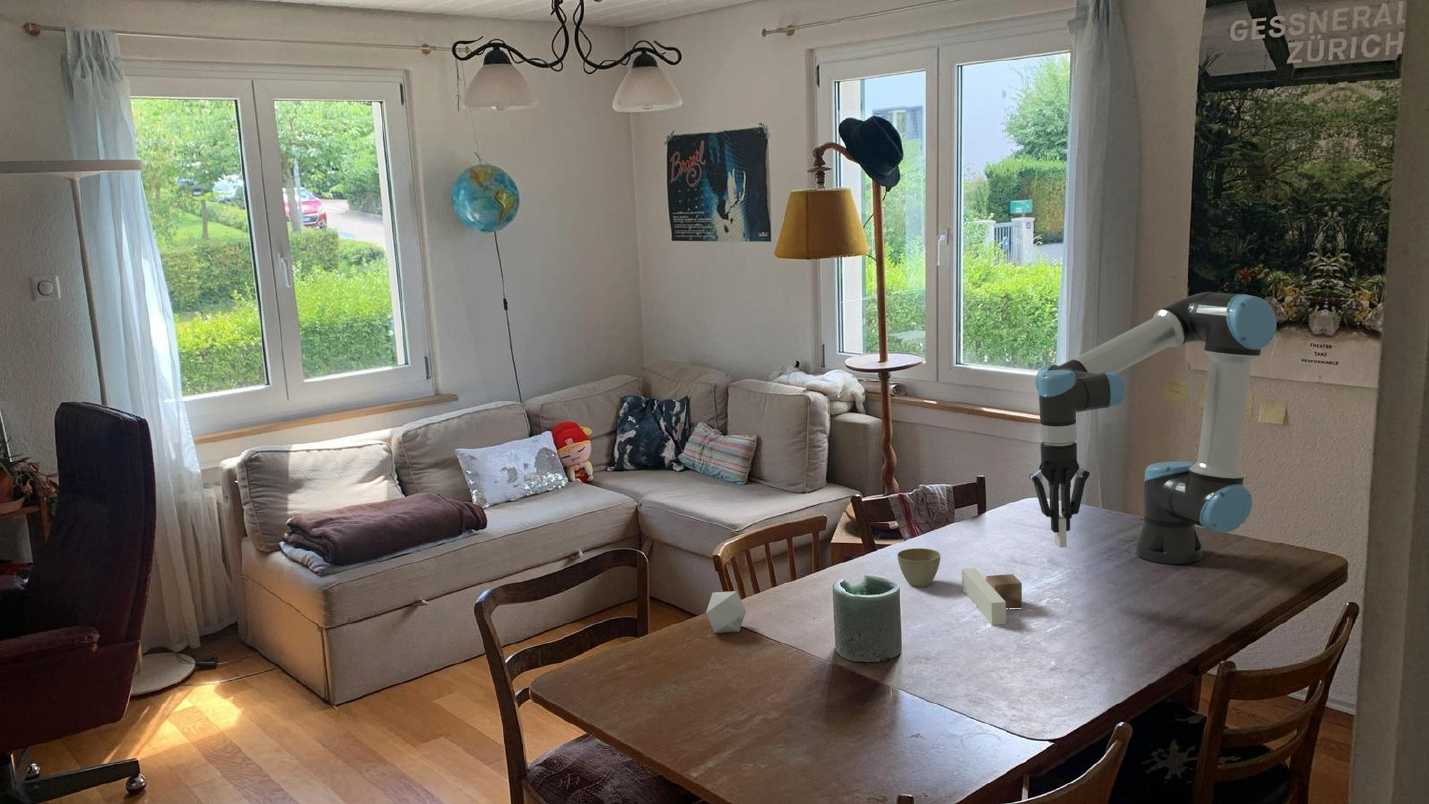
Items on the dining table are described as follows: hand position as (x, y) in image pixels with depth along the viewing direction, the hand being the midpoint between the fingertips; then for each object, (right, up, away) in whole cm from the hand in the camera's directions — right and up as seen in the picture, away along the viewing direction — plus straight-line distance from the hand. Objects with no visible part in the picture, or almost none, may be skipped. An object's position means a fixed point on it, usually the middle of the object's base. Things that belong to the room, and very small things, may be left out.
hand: (1061, 545), depth 243 cm
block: (-13, -13, 0) cm, 18 cm away
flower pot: (-28, -11, +16) cm, 34 cm away
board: (-17, -13, 0) cm, 22 cm away
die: (-74, -18, -6) cm, 76 cm away
